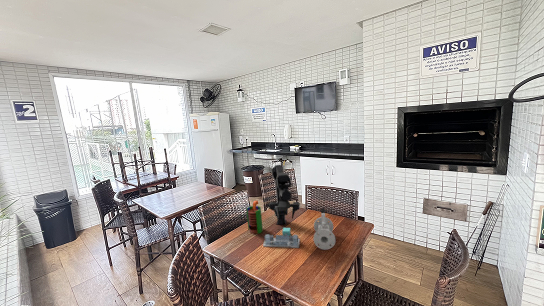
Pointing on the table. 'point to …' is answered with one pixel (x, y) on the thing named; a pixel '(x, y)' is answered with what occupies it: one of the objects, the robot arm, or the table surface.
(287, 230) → the coupler
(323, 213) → the valve
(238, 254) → the table surface
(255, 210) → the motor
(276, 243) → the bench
